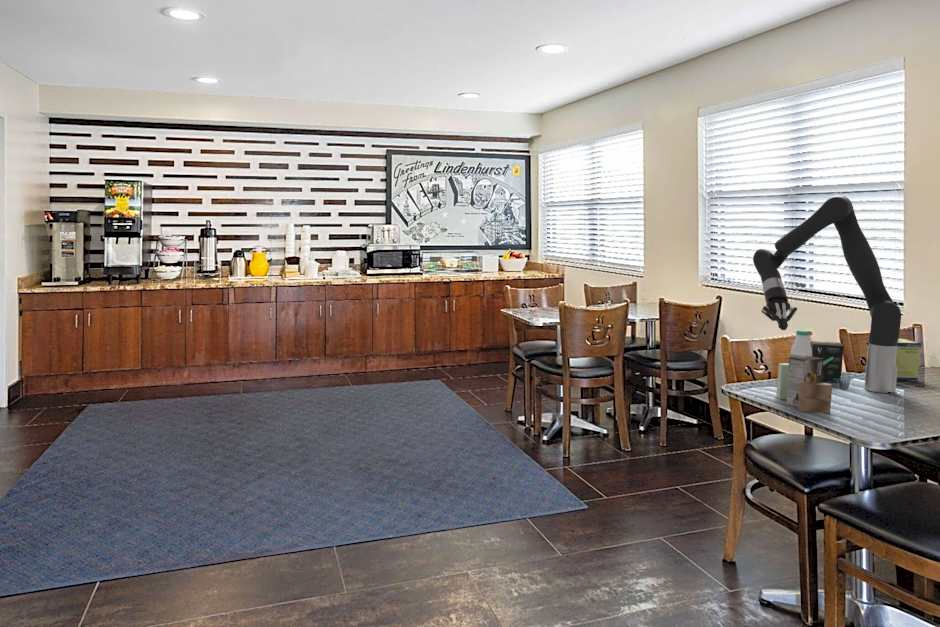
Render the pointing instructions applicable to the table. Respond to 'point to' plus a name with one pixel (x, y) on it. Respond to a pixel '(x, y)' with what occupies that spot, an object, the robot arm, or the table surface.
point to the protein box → (907, 359)
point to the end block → (814, 397)
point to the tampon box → (829, 359)
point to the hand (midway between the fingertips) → (784, 328)
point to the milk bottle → (801, 344)
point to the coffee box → (802, 375)
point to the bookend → (782, 380)
